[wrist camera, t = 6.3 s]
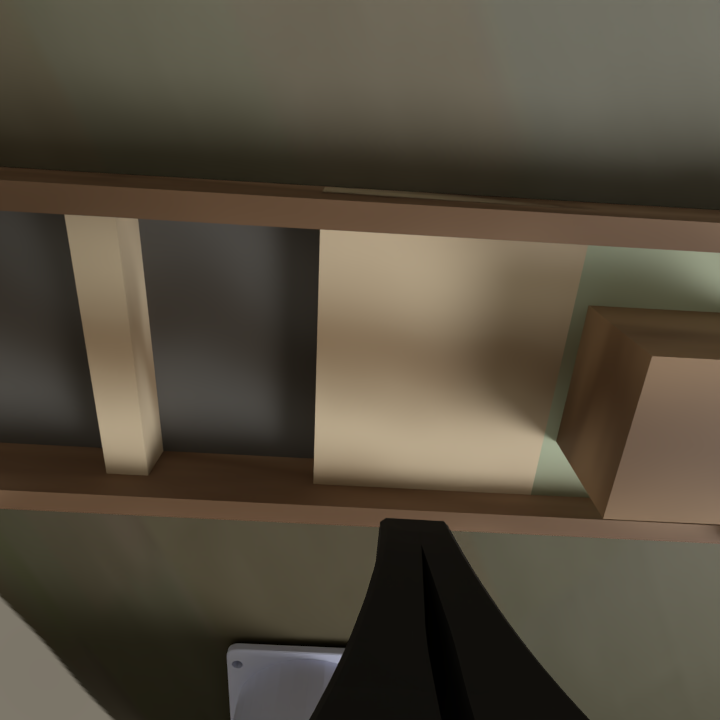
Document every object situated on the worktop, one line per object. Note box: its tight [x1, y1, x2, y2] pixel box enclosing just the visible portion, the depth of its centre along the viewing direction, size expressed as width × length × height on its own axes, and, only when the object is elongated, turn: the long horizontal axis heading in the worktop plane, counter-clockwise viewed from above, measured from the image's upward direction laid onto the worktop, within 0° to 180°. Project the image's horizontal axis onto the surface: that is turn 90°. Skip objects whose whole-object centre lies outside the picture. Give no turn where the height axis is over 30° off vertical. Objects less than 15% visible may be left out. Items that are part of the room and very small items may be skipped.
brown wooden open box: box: [0, 167, 720, 544], centre depth 17 cm, size 11×30×4 cm, turn 87°
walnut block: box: [556, 305, 720, 524], centre depth 16 cm, size 5×5×4 cm
